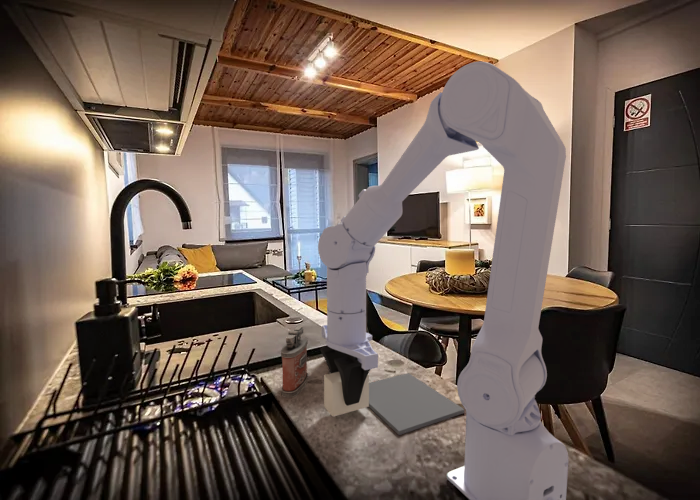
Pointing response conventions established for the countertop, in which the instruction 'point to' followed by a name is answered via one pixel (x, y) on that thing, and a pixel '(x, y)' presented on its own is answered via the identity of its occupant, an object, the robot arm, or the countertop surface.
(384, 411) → the mat
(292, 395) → the lighter
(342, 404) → the beige rectangular block
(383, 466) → the countertop surface
